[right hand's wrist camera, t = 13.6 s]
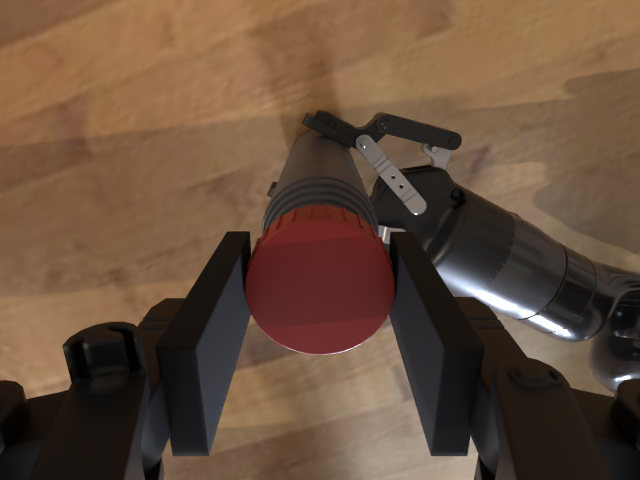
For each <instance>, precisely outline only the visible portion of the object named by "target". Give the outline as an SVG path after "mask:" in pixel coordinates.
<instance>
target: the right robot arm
mask: <svg viewBox="0 0 640 480" xmlns="http://www.w3.org/2000/svg"><path fill="white" fill-rule="evenodd" d="M389 257H390V259H391V262H392V264H393V267H392V270H393V274H394V279H395V296H394V301H393V305H392V308H391V311H390V313H389V316H390V319H391V323H392V326H393V329H394V333H395V336H396V339H397V343H398V346H399V349H400V353H401V356H402V360H403V363H404V366H405V370H406V373H407V376H408V380H409V383H410V386H411V390H412V393H413V396H414V400H415V403H416V407H417V410H418V413H419V417H420V420H421V423H422V427H423V430H424V433H425V437H426V440H427V443H428V447H429V450H430V453H431V456H467V453H468V447H469V441H470V435H471V437H472V440H473V442H474V444H475V447H476V449H477V451H478V459H477V465H476V471H475V476H474V480H640V379H637V378H634V379H628V380H624V381H622V382H621V383H620V384H619V385H618V386H617V390H616V393H615V396H614V397H610V396H605V395H600V394H595V393H590V392H585V391H581V390H577V389H573V388H571V387H570V385H569V383H568V382H567V380H566V379H565V378H564V376H563V375H562V374H561V373H560V372H559V371H557V370H556V369H554V368H553V367H552V366H550V365H548V364H545V363H543V362H541V361H539V360H536V359H532V358H527V356H526V355H525V354H524V352H523V351H522V350H521V348H520V347H519V346H518V344H517V343H516V342H515V340H514V339H513V338H512V336H511V335H510V334H509V332H508V331H507V330H506V329H504V326H503V325H502V323H501V322H500V321H499V320H497V317H496V315H495V314H494V313H493V311H492V310H491V309H490V307H489V306H487V305H486V304H484V303H483V302H481V301H480V300H478V299H476V298H475V297H453V295H452V294H451V292H450V290H449V289H448V287H447V286H446V284H445V282H444V281H443V279H442V278H441V276H440V274H439V273H438V271H437V270H436V268H435V266H434V265H433V263H432V262H431V260H430V258H429V257H428V255H427V254H426V252H425V250H424V249H423V247H422V246H421V244H420V242H419V241H418V239H417V237H416V236H415V234H414V233H413V232H390V243H389ZM250 258H251V243H250V232H227V233H226V234H225V236H224V237H223V239H222V241H221V242H220V244H219V245H218V247H217V249H216V250H215V252H214V254H213V255H212V257H211V258H210V260H209V262H208V263H207V265H206V266H205V268H204V270H203V271H202V273H201V274H200V276H199V278H198V279H197V281H196V282H195V284H194V286H193V287H192V289H191V290H190V292H189V294H188V295H187V297H186V298H166V299H164V300H163V301H161V302H160V303H158V304H157V305H155V306H153V307H152V308H151V309H150V310H149V312H148V313H147V314H146V316H145V317H144V318H143V321H141V322H140V324H139V325H138V326H135V325H134V324H131V323H127V322H108V323H103V324H98V325H94V326H91V327H89V328H86V329H84V330H81V331H80V332H78V333H76V334H75V335H73V336H71V337H70V338H69V339H68V340H67V341H66V342H65V343H64V344H63V345H62V346H63V350H64V354H65V358H66V362H67V366H68V370H69V374H70V378H71V382H72V384H71V386H70V388H69V390H66V391H63V392H59V393H54V394H49V395H44V396H40V397H35V398H30V399H26V396H25V393H24V390H23V387H22V386H21V385H19V384H18V383H17V382H13V381H7V380H2V381H0V480H164V465H163V459H162V453H163V451H164V449H165V446H166V444H167V442H168V439H169V437H170V441H171V447H172V453H173V456H209V453H210V450H211V447H212V443H213V440H214V437H215V433H216V430H217V427H218V423H219V420H220V417H221V413H222V410H223V406H224V403H225V400H226V396H227V393H228V390H229V386H230V383H231V380H232V376H233V373H234V370H235V366H236V363H237V360H238V356H239V353H240V349H241V346H242V343H243V339H244V336H245V333H246V329H247V326H248V323H249V319H250V316H251V312H250V310H249V307H248V304H247V300H246V294H245V280H246V275H247V270H248V269H247V265H248V263H249V260H250Z"/></svg>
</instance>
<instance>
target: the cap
mask: <svg viewBox="0 0 640 480" xmlns="http://www.w3.org/2000/svg"><path fill="white" fill-rule="evenodd" d="M392 267H393V264H392V262H391V259H390V257H389V254H388V252H387V250H386V248H385V245H384V242H383V240H382V238H381V236H380V237H379V236H378V235H377V233H376V232H375V231H374V228H373V226H372V225H371V224H370V225H369V224H368V223H367V222H366V221H364V220H363V219H362V218H361V216H360V215H359V214H358V215H355V214H354V213H352V212H350V211H347V210H346V209H345V208H344V207H343V208H338V207H333V206H329V204H326V206H325V205H314V206H312V204H309V206H307V207H302V208H299V209H296V208H294V209H293V211H291V212H288V213H286V214H285V215H283V216H281V215H280V216H278V219H277V220H276V221H275V222H273V223H272V224H271V225H270V226H267V227H266V229H265V232H264V234H263V235H262V236H261V238H258V240H257V242H256V245H255V247H254V250H253V252H252V255H251V258H250V260H249V263H248V265H247V269H248V270H247V275H246V280H245V294H246V300H247V304H248V307H249V310H250V312H251V315H252V316H253V318H254V320H255V322H256V323H257V324H258V326H259V327H260V328H261V329H262V330H263V331H264V332H265V333H266V335H268V336H269V337H270V338H271V339H273V340H274V341H275V342H277V343H279V344H280V345H282V346H284V347H286V348H289V349H291V350H294V351H297V352H301V353H306V354H315V355H327V354H334V353H339V352H343V351H346V350H349V349H352V348H354V347H356V346H358V345H360V344H362V343H363V342H365V341H366V340H368V339H369V338H370V337H371V336H372V335H374V334H375V333H376V332H377V331H378V329H379V328H380V327H381V326H382V325H383V323H384V322H385V320H386V319H387V317H388V315H389V313H390V311H391V308H392V305H393V301H394V296H395V279H394V274H393V270H392Z"/></svg>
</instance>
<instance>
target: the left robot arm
mask: <svg viewBox="0 0 640 480" xmlns="http://www.w3.org/2000/svg"><path fill="white" fill-rule="evenodd" d="M302 124H304V125H305V126H307V127H309V128H311V129H313V130H315V131H316V132H318V133H320V134H322V135H324V136H326V137H328V138H330V139H332V140H334V141H336V142H338V143H339V144H341V145H343V146H345V147H347V148H349V149H350V148H351V146H352V147H354V148H356V149H357V150H358V151H359V152H360V153H361V154H362V155H363V156H364V158H365V159H366V160H367V161H368V162H369V163H370V165H371V166H372V167H373V168H374V169H375V171H376V172H377V173H378V174H379V175H380V176H379V177H378V179H377V181H376V182H375V184H374V187H373V191H372V194H371V196H370V197H369V199H370V201H371V204H372V206H373V208H374V211H375V213H376V216H377V220H378V227H379V237H380V236H381V238H382V240H383V242H384V245H385V248H386V250H387V252H388V254H389V243H390V232H413V233H414V234H415V236H416V237H417V239H418V241H419V242H420V244H421V246H422V247H423V249H424V250H425V252H426V254H427V255H428V257H429V258H430V260H431V262H432V263H433V265H434V266H435V268H436V270H437V271H438V273H439V274H440V276H441V278H442V279H443V281H444V282H445V284H446V286H447V287H448V289H449V290H450V292H452V293H454V294H456V295H458V296H460V297H475V298H476V299H478V300H480V301H481V302H483V303H484V304H486V305H487V306H489V307H490V309H491V310H492V311H493V312H496V313H500V314H503V315H506V316H508V317H510V318H513V319H515V320H517V321H519V322H521V323H523V324H525V325H527V326H529V327H531V328H533V329H535V330H537V331H539V332H541V333H543V334H545V335H547V336H550V337H552V338H554V339H557V340H560V341H564V342H581V341H585V340H587V339H589V338H591V337H593V339H592V342H591V347H590V352H589V367H590V369H591V372H592V374H593V375H594V377H595V378H596V379H597V380H598V382H599V383H601V384H602V385H603V386H604V387H605V388H606V389H608V390H609V391H611V392H613V393H616V390H617V386H618V385H619V384H620V383H621V382H622V381H624V380H628V379H634V378H637V379H640V273H639V272H634V271H629V270H625V269H621V268H617V267H614V266H610V265H606V264H603V263H599V262H596V261H593V260H591V259H589V258H587V257H585V256H583V255H581V254H580V253H578V252H576V251H574V250H572V249H570V248H568V247H566V246H565V245H563V244H561V243H559V242H557V241H556V240H554V239H552V238H551V237H549V236H548V235H547V234H545V233H544V232H543V231H541V230H540V229H539V228H537V227H536V226H534V225H532V224H531V223H529V222H527V221H525V220H523V219H521V217H519V216H518V215H517V214H515V213H512V212H508V211H506V210H505V209H503V208H501V207H499V206H497V205H495V204H493V203H492V202H490V201H488V200H486V199H484V198H482V197H480V196H479V195H477V194H475V193H473V192H471V191H469V190H467V189H466V188H464V187H462V186H460V185H458V184H456V183H455V182H453V180H452V179H451V177H450V175H449V174H448V172H447V171H446V167H447V165H448V162H449V159H450V156H451V153H452V150H455V149H457V148H458V147H459V146H460V145H461V142H462V139H461V136H460V135H459V134H458V133H456V132H453V131H450V130H447V129H444V128H440V127H436V126H433V125H429V124H425V123H421V122H417V121H413V120H410V119H406V118H402V117H398V116H394V115H390V114H386V113H382V112H380V113H377V114H376V115H375V116H374V118H373V119H372V120H371V121H370V122H369V123H368V124H366V125H365V126H363V127H355V126H353V125H351V124H349V123H347V122H345V121H343V120H341V119H340V118H338V117H336V116H334V115H332V114H330V113H328V112H327V111H323V110H317V112H316V114H315V116H313V115H311V114H309V113H306V115H305V117H304V119H303V121H302ZM386 134H389V135H393V136H397V137H401V138H404V139H408V140H412V141H416V142H420V143H421V150H422V152H423V153H425V154H426V155H428V156H429V157H430V158H431V165H424V166H418V167H411V168H404V169H397V167H396V166H395V165H394V164H393V163H392V162H391V160H390V159H389V158H388V157H387V156H386V155H385V153H384V152H383V151H382V150H381V149H380V148H379V146H378V145H377V144H376V143H377V142H378V141H379V140H380V139H381V138H382V137H383V136H384V135H386ZM276 185H277V182H273V183H272V185H271V187H270V189H269V191H268V194H267V195H268V196H269V197H270V198H271V197H272V194H273V192H274V190H275V187H276Z"/></svg>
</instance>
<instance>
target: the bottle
mask: <svg viewBox="0 0 640 480" xmlns="http://www.w3.org/2000/svg"><path fill="white" fill-rule="evenodd" d="M309 204H312V206H314V205H325V206H326V204H329V206H333V207H338V208H343V207H344V208H345V209H346V210H347V211H350V212H352V213H354V214H355V215H358V214H359V215H360V216H361V218H362V219H363V220H364V221H366V222H367V223H368V224H369V225H370V224H371V225H372V226H373V228H374V231H375V232H376V233H377V235H378V236H379V227H378V220H377V216H376V213H375V211H374V208H373V206H372V204H371V201H370V199H369V197H368V194H367V192H366V190H365V187H364V185H363V182H362V180H361V178H360V175H359V173H358V171H357V168H356V166H355V164H354V161H353V159H352V157H351V154H350V152H349V150H348V148H347V147H345V146H343V145H341V144H339V143H338V142H336V141H334V140H332V139H330V138H328V137H326V136H324V135H322V134H320V133H318V132H316V131H315V130H313V129H309V130H307V131H305V132H304V133H302V134H301V135H300V136H299V137H298V138H297V140H296V141H295V143H294V145H293V148H292V150H291V152H290V155H289V157H288V159H287V162H286V164H285V166H284V169H283V171H282V173H281V176H280V178H279V180H278V183H277V185H276V187H275V190H274V192H273V194H272V197H271V199H270V201H269V204H268V206H267V209H266V211H265V214H264V217H263V221H262V235H263V234H264V232H265V229H266V227H267V226H270V225H271V224H272V223H273V222H275V221H276V220H277V219H278V216H280V215H281V216H283V215H285V214H286V213H288V212H291V211H293V209H294V208H296V209H299V208H302V207H307V206H309Z"/></svg>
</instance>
